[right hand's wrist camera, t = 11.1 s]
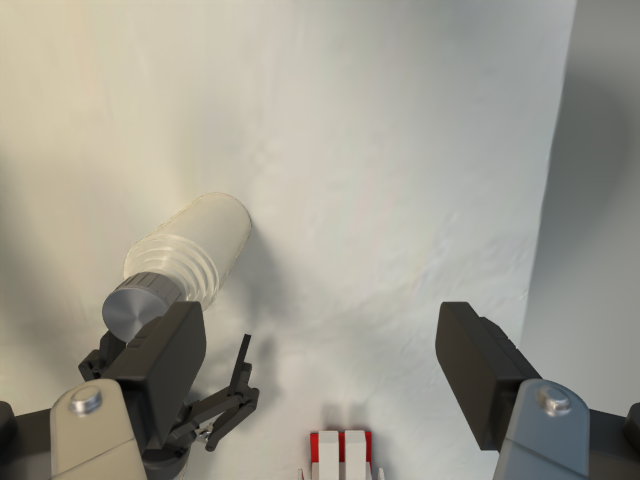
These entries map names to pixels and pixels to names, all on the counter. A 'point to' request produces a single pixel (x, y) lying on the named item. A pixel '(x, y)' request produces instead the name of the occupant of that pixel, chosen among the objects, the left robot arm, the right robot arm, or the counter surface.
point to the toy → (341, 456)
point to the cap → (138, 303)
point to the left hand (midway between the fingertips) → (185, 326)
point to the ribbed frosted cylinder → (194, 247)
